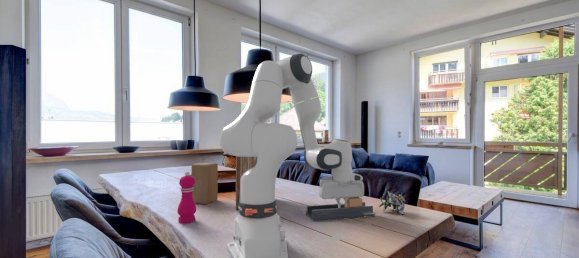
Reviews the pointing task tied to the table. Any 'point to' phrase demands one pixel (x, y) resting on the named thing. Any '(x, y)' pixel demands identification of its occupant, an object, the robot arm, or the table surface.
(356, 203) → the block
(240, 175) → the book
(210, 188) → the wooden block
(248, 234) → the robot arm
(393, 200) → the grey-green leafy rounded clump
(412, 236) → the table surface
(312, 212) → the chute
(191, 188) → the pepper mill
